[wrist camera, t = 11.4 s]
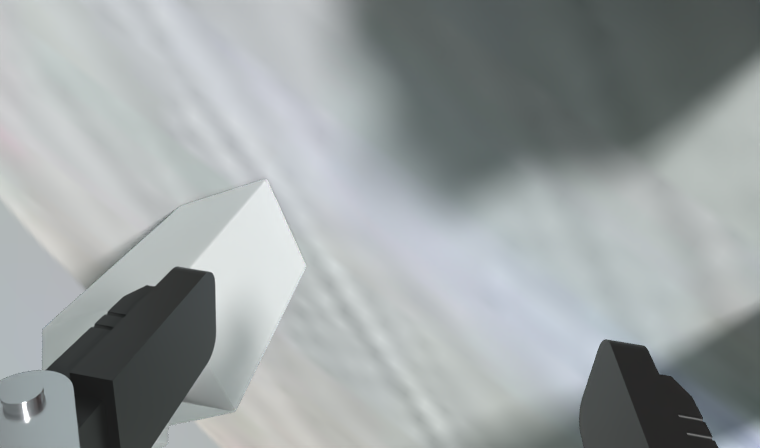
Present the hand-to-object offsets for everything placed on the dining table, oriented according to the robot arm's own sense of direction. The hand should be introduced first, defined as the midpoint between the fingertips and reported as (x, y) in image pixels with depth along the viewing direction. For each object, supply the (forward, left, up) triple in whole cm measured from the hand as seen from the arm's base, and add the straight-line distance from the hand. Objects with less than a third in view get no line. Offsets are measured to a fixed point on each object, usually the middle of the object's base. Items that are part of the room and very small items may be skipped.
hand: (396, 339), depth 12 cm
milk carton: (+12, +12, -26) cm, 31 cm away
